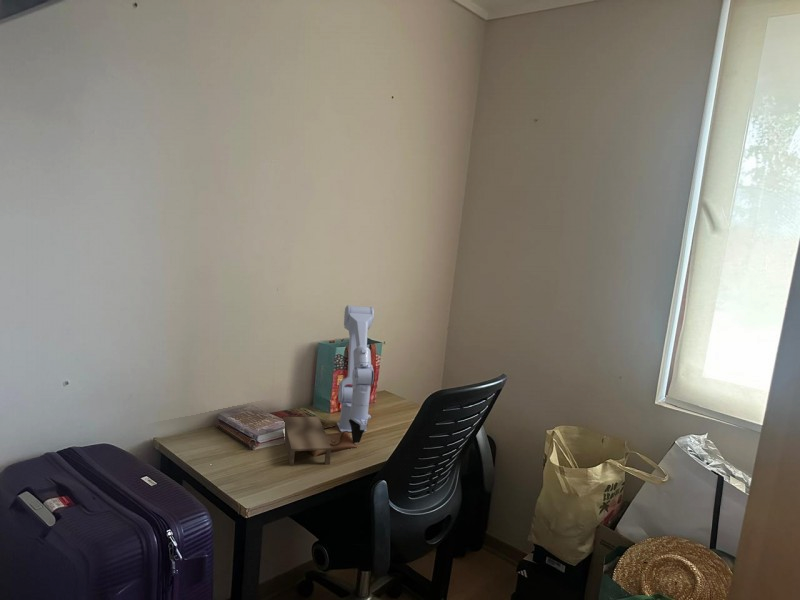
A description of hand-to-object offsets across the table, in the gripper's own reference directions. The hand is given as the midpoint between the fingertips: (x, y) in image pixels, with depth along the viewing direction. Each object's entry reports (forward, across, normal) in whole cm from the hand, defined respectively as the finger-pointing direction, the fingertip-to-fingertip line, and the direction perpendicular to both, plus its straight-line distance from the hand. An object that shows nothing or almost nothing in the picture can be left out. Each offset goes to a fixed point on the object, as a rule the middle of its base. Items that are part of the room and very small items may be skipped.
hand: (356, 441), depth 183 cm
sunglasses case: (+2, 0, +9) cm, 9 cm away
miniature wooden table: (+1, 0, +17) cm, 17 cm away
